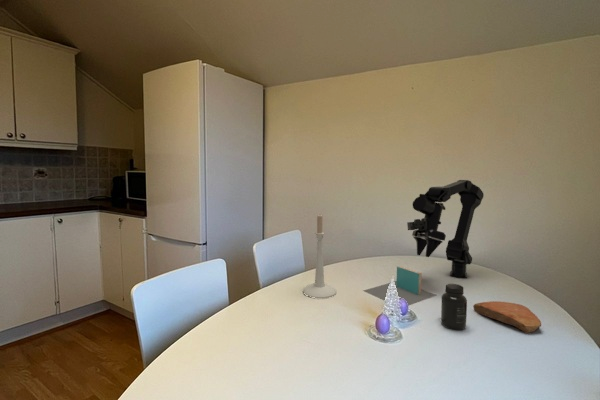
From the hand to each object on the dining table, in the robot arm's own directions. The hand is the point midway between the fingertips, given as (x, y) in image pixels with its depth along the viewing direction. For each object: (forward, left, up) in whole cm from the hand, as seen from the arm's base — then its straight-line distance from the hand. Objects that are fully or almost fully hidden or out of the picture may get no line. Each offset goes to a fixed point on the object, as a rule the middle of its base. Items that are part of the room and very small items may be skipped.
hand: (422, 255), depth 122 cm
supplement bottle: (+27, +12, -13) cm, 32 cm away
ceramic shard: (+17, +27, -13) cm, 34 cm away
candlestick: (+22, -34, -13) cm, 43 cm away
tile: (+6, -4, -12) cm, 14 cm away
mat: (+11, -7, -13) cm, 18 cm away
